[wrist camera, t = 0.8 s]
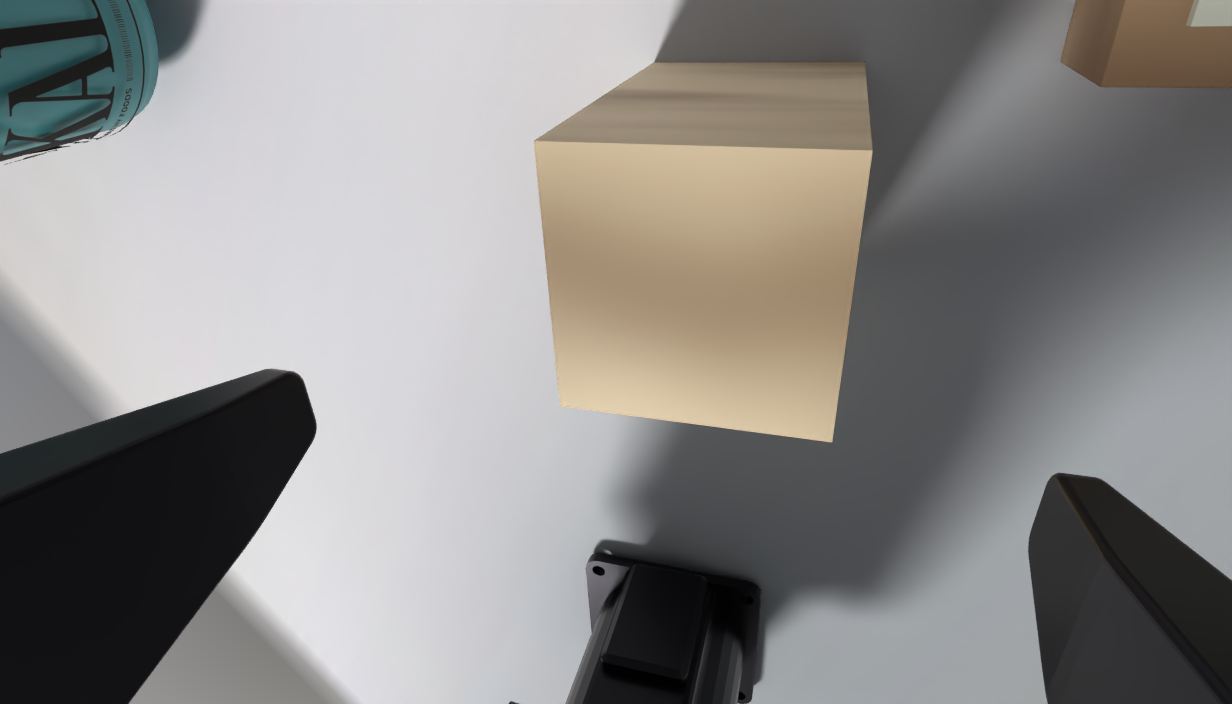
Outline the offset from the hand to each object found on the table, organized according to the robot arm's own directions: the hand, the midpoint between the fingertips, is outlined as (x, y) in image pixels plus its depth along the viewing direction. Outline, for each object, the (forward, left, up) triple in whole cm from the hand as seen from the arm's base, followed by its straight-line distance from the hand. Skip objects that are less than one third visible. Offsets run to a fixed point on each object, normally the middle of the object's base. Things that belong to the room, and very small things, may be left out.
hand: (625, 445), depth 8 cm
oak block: (0, 0, -12) cm, 12 cm away
